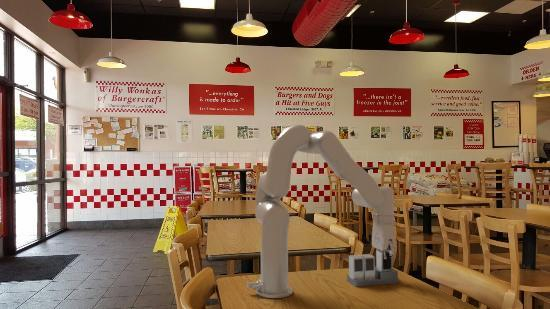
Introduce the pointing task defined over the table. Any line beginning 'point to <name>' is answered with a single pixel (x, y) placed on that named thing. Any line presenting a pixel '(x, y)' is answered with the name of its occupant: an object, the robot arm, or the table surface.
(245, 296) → the table surface
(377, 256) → the pale grey block
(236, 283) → the table surface
